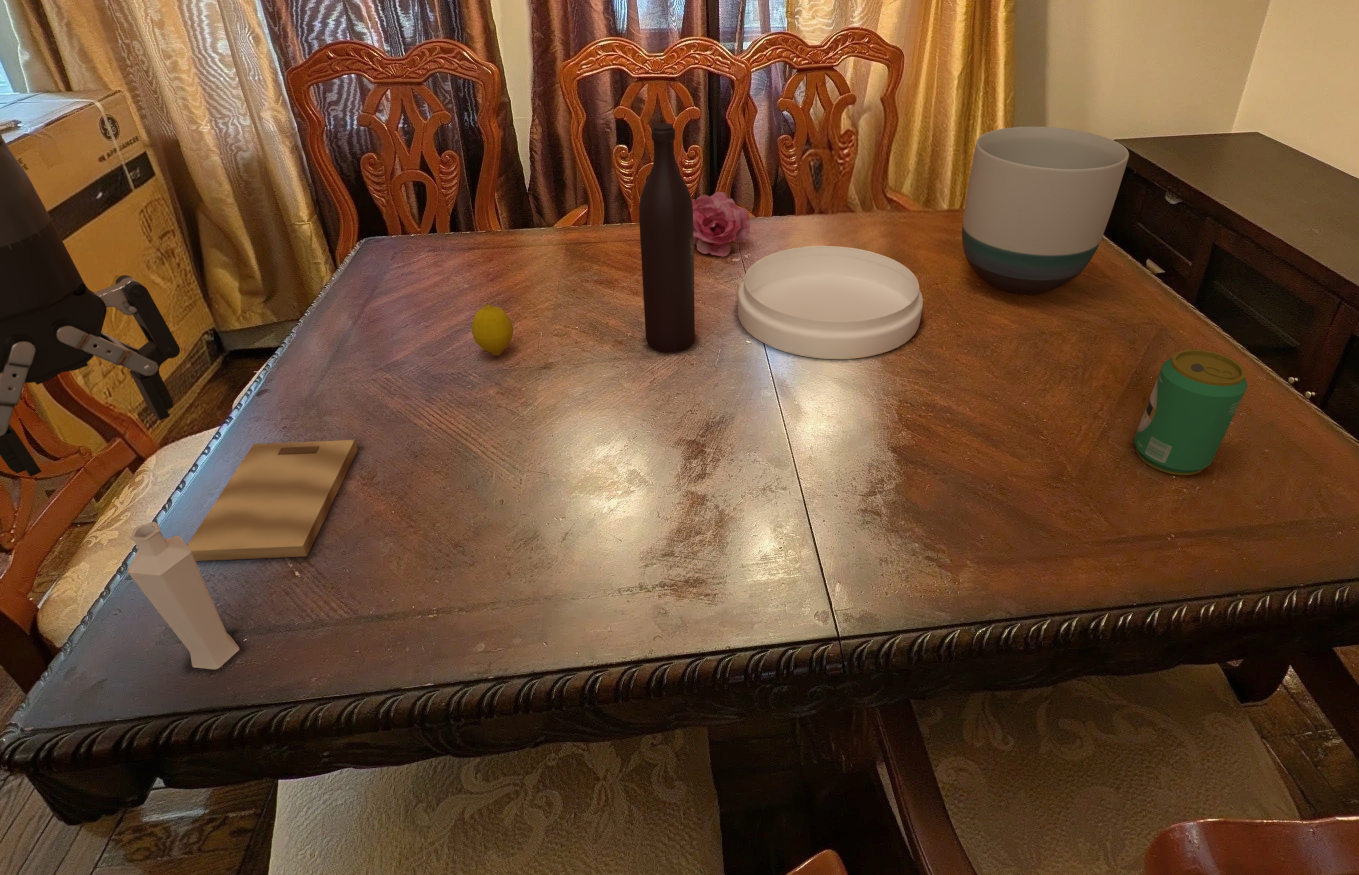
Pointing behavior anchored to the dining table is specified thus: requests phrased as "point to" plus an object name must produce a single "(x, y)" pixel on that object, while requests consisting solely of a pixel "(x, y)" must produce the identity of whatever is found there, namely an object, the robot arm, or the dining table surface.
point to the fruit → (492, 329)
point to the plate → (830, 302)
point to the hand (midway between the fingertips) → (100, 441)
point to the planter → (1038, 204)
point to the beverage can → (1189, 411)
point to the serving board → (274, 501)
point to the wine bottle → (667, 249)
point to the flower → (718, 223)
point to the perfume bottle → (180, 595)
